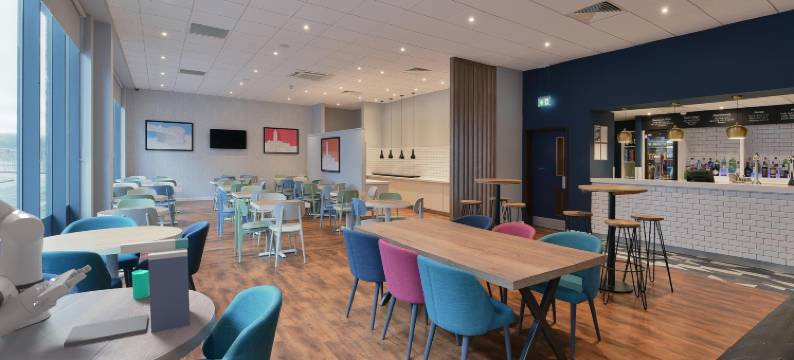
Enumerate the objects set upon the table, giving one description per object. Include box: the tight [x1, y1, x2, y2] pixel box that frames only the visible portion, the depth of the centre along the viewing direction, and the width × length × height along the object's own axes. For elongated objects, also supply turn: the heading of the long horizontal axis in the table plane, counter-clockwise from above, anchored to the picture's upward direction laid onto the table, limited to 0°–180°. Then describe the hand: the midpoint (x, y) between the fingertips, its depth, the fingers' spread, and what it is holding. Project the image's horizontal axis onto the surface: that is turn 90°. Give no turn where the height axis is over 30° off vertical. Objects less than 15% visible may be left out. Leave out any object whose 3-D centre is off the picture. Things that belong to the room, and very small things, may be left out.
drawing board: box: [63, 314, 149, 348], centre depth 135 cm, size 22×14×1 cm, turn 119°
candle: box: [131, 269, 150, 300], centre depth 168 cm, size 6×6×12 cm
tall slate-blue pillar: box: [147, 248, 191, 333], centre depth 143 cm, size 12×16×26 cm
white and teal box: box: [119, 237, 189, 255], centre depth 140 cm, size 20×4×3 cm, turn 119°
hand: (87, 270), depth 131 cm, fingers open, 8 cm apart
